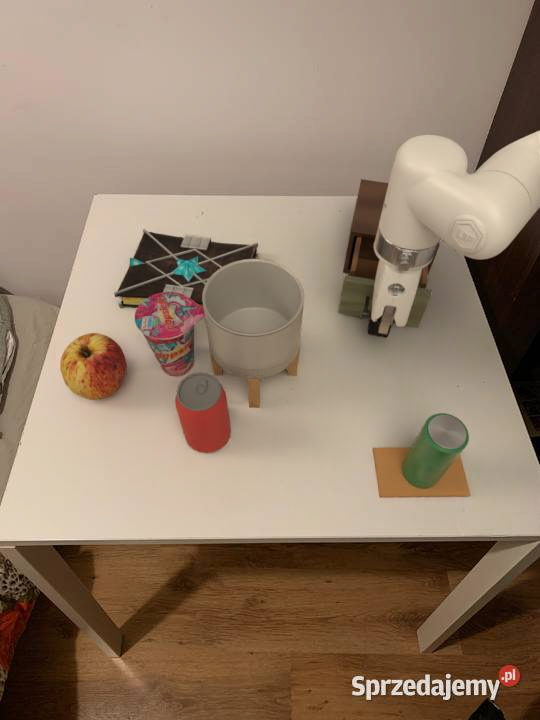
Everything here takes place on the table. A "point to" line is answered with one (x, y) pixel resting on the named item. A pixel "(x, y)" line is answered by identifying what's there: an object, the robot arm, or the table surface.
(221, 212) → the table surface
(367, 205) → the cabinet
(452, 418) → the green can
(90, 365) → the apple
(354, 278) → the drawer
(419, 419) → the table surface
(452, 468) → the mat
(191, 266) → the book
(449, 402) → the table surface
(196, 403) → the beer can
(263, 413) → the table surface
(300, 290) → the planter
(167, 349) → the cup
